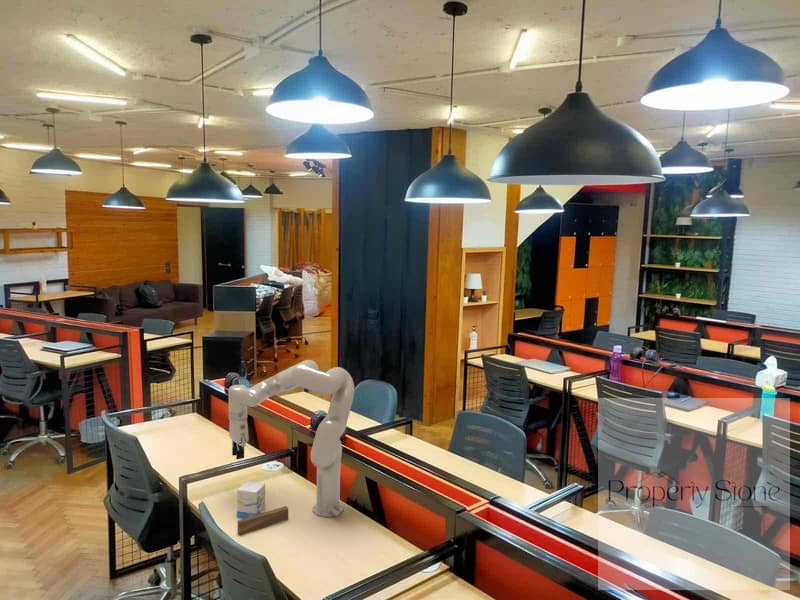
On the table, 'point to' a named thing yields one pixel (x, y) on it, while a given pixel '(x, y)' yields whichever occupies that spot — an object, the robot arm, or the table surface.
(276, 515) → the board
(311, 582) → the table surface
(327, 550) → the table surface
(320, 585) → the table surface
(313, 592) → the table surface
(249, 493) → the ink box
